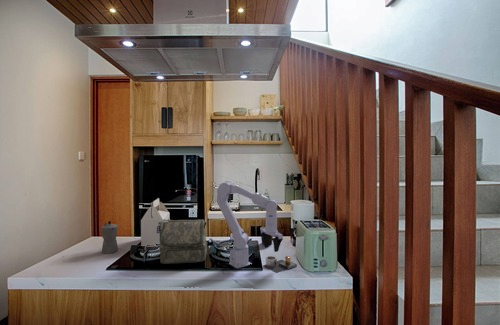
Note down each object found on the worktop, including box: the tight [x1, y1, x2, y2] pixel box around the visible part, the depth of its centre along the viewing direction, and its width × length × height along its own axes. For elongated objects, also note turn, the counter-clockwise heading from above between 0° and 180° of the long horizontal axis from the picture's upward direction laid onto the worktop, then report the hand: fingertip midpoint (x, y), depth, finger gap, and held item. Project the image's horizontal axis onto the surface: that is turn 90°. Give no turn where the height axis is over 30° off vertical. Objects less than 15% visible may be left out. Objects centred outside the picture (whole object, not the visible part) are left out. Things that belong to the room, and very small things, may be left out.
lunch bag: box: [157, 219, 208, 265], centre depth 155 cm, size 26×18×22 cm
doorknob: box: [279, 255, 298, 270], centre depth 144 cm, size 6×6×5 cm
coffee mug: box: [259, 226, 274, 246], centre depth 182 cm, size 12×9×10 cm
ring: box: [265, 255, 278, 267], centre depth 145 cm, size 6×6×4 cm
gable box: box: [140, 197, 171, 246], centre depth 184 cm, size 22×13×28 cm, turn 6°
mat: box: [262, 259, 288, 274], centre depth 143 cm, size 14×11×1 cm
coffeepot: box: [100, 220, 119, 255], centre depth 167 cm, size 15×9×18 cm, turn 44°
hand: (271, 249), depth 145 cm, fingers open, 7 cm apart
